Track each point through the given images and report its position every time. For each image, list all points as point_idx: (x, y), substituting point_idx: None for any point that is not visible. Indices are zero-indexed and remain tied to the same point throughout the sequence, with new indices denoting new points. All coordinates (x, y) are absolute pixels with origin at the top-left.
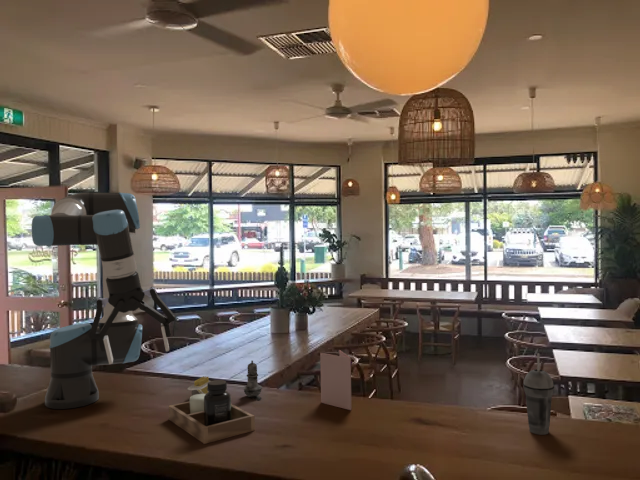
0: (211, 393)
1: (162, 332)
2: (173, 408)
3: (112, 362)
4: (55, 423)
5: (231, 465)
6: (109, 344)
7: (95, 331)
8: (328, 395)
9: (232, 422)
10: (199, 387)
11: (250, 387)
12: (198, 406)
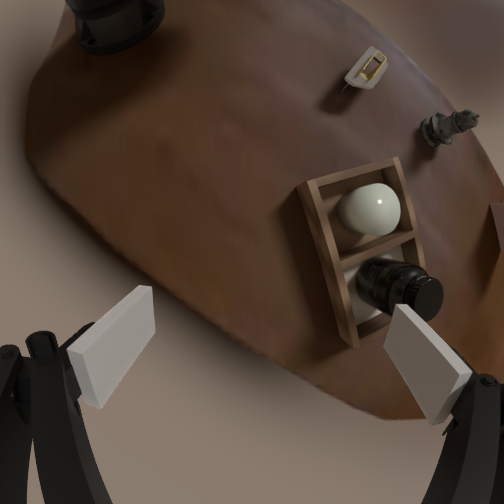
0: None
1: (420, 404)
2: (316, 206)
3: (154, 324)
4: (84, 121)
5: (354, 399)
6: (114, 335)
7: (31, 426)
8: (502, 216)
9: None
10: (368, 86)
11: (444, 135)
12: (367, 233)
